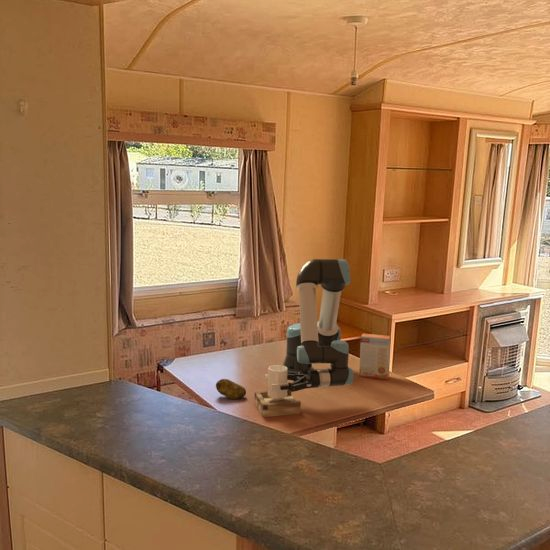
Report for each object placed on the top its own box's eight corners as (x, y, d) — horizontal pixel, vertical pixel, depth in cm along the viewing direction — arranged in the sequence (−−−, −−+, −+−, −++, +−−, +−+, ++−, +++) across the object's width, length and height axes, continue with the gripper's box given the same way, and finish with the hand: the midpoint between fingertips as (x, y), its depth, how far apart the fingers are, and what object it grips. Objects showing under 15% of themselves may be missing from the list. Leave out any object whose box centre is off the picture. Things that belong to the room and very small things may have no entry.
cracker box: (389, 376, 279) (391, 335, 276) (387, 380, 274) (389, 338, 270) (361, 372, 284) (362, 332, 280) (358, 376, 278) (360, 335, 275)
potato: (239, 403, 244) (239, 385, 242) (213, 398, 249) (213, 381, 247) (247, 396, 251) (247, 379, 250) (222, 391, 256) (222, 374, 255)
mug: (285, 402, 232) (286, 374, 230) (265, 401, 233) (265, 373, 231) (288, 391, 243) (289, 365, 241) (268, 390, 244) (269, 364, 242)
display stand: (254, 402, 244) (254, 391, 243) (289, 399, 248) (290, 388, 247) (263, 417, 230) (263, 405, 229) (300, 413, 234) (300, 402, 233)
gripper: (327, 397, 231) (275, 401, 225) (308, 377, 254) (261, 381, 248) (327, 379, 230) (276, 384, 224) (309, 361, 252) (261, 364, 247)
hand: (268, 382), depth 236 cm, fingers closed on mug, 11 cm apart
